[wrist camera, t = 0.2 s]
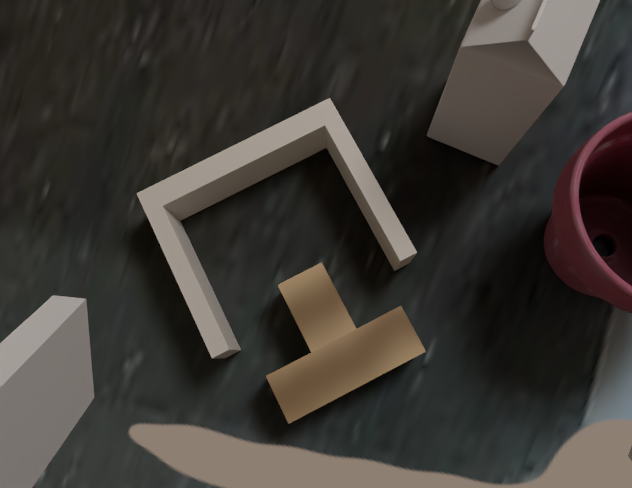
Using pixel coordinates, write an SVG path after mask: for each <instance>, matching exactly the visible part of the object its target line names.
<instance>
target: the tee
mask: <svg viewBox="0 0 632 488" xmlns="http://www.w3.org/2000/svg"><path fill="white" fill-rule="evenodd" d="M278 287H279V289H280V291H281V293H282V295H283V297H284V299H285V301H286V303H287V305H288V307H289V309H290V311H291V313H292V315H293V317H294V319H295V321H296V323H297V325H298V327H299V329H300V331H301V333H302V335H303V337H304V339H305V341H306V343H307V345H308V347H309V349H310V351H311V353H309V354H307V355H306V356H304V357H302V358H300V359H298V360H296V361H294V362H292V363H290V364H288V365H286V366H284V367H283V368H281V369H279V370H277V371H275V372H273V373H271V374H269V375H267V376H266V378H267V380H268V382H269V384H270V386H271V388H272V390H273V392H274V394H275V397H276V399H277V401H278V403H279V405H280V407H281V409H282V411H283V413H284V415H285V417H286V420H287V422H288V424H289V423H291V422H293V421H295V420H297V419H299V418H301V417H303V416H305V415H306V414H308V413H310V412H312V411H314V410H316V409H318V408H320V407H322V406H323V405H325V404H327V403H329V402H331V401H333V400H335V399H337V398H339V397H341V396H342V395H344V394H346V393H348V392H350V391H352V390H354V389H356V388H358V387H360V386H361V385H363V384H365V383H367V382H369V381H371V380H373V379H375V378H377V377H378V376H380V375H382V374H384V373H386V372H388V371H390V370H392V369H394V368H396V367H397V366H399V365H401V364H403V363H405V362H407V361H409V360H411V359H413V358H415V357H416V356H418V355H420V354H422V353H424V352H426V351H425V349H424V347H423V345H422V343H421V342H420V340H419V338H418V336H417V334H416V332H415V331H414V329H413V327H412V325H411V323H410V321H409V319H408V318H407V316H406V314H405V312H404V310H403V308H402V307H401V306H400V307H398V308H396V309H394V310H392V311H390V312H388V313H386V314H384V315H382V316H380V317H379V318H377V319H375V320H373V321H371V322H369V323H367V324H365V325H363V326H361V327H359V328H357V329H356V327H355V325H354V323H353V322H352V320H351V318H350V316H349V314H348V312H347V310H346V308H345V306H344V304H343V302H342V300H341V298H340V297H339V295H338V293H337V291H336V289H335V287H334V285H333V283H332V281H331V279H330V277H329V275H328V273H327V272H326V270H325V268H324V266H323V264H322V263H320V264H318V265H316V266H314V267H312V268H310V269H308V270H306V271H304V272H302V273H300V274H298V275H296V276H294V277H292V278H290V279H288V280H286V281H284V282H282V283H280V284H279V285H278Z"/></svg>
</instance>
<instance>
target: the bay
mask: <svg viewBox="0 0 632 488" xmlns="http://www.w3.org/2000/svg"><path fill="white" fill-rule="evenodd" d="M325 148H327V149H328V151H329V153H330V155H331V157H332V159H333V160H334V162H335V164H336V166H337V168H338V169H339V171H340V173H341V175H342V177H343V179H344V180H345V182H346V184H347V186H348V188H349V189H350V191H351V193H352V195H353V197H354V199H355V200H356V202H357V204H358V206H359V208H360V209H361V211H362V213H363V215H364V217H365V219H366V220H367V222H368V224H369V226H370V228H371V229H372V231H373V233H374V235H375V237H376V239H377V240H378V242H379V244H380V246H381V248H382V249H383V251H384V253H385V255H386V257H387V259H388V260H389V262H390V264H391V266H392V268H393V269H394V271H395V270H397V269H399V268H401V267H403V266H405V265H407V264H409V263H410V262H411V260H412V259H413V258H414V256H415V255H416V253H417V251H416V250H415V248H414V246H413V244H412V243H411V241H410V239H409V237H408V235H407V234H406V232H405V230H404V228H403V227H402V225H401V223H400V221H399V220H398V218H397V216H396V214H395V212H394V211H393V209H392V207H391V205H390V204H389V202H388V200H387V198H386V196H385V195H384V193H383V191H382V189H381V188H380V186H379V184H378V182H377V181H376V179H375V177H374V175H373V173H372V172H371V170H370V168H369V166H368V165H367V163H366V161H365V159H364V158H363V156H362V154H361V152H360V150H359V149H358V147H357V145H356V143H355V142H354V140H353V138H352V136H351V134H350V133H349V131H348V129H347V127H346V126H345V124H344V122H343V120H342V119H341V117H340V115H339V113H338V111H337V110H336V108H335V106H334V104H333V103H332V101H331V99H330V98H329V99H327V100H325V101H323V102H321V103H319V104H317V105H315V106H313V107H311V108H309V109H306V110H304V111H302V112H300V113H298V114H296V115H294V116H292V117H290V118H288V119H286V120H284V121H282V122H280V123H278V124H276V125H274V126H272V127H270V128H268V129H266V130H264V131H262V132H260V133H258V134H256V135H254V136H252V137H250V138H248V139H246V140H244V141H242V142H240V143H238V144H236V145H234V146H232V147H230V148H228V149H226V150H224V151H222V152H220V153H218V154H215V155H213V156H211V157H209V158H207V159H205V160H203V161H201V162H199V163H197V164H195V165H193V166H191V167H189V168H187V169H185V170H183V171H181V172H179V173H177V174H175V175H173V176H171V177H169V178H167V179H165V180H163V181H161V182H159V183H157V184H155V185H153V186H151V187H149V188H147V189H145V190H143V191H141V192H139V193H137V195H138V197H139V200H140V202H141V204H142V206H143V208H144V211H145V213H146V215H147V217H148V219H149V222H150V224H151V226H152V228H153V230H154V233H155V235H156V237H157V239H158V241H159V243H160V246H161V248H162V250H163V252H164V254H165V257H166V259H167V261H168V263H169V265H170V268H171V270H172V272H173V274H174V276H175V279H176V281H177V283H178V285H179V287H180V290H181V292H182V294H183V296H184V298H185V301H186V303H187V305H188V307H189V309H190V311H191V314H192V316H193V318H194V320H195V322H196V325H197V327H198V329H199V331H200V333H201V336H202V338H203V340H204V342H205V344H206V347H207V349H208V351H209V353H210V355H211V358H227V357H229V356H231V355H233V354H235V353H237V352H239V351H241V349H240V347H239V345H238V343H237V341H236V338H235V336H234V334H233V332H232V330H231V328H230V326H229V323H228V321H227V319H226V317H225V315H224V313H223V311H222V309H221V306H220V304H219V302H218V300H217V298H216V296H215V294H214V292H213V289H212V287H211V285H210V283H209V281H208V279H207V277H206V274H205V272H204V270H203V268H202V266H201V264H200V262H199V260H198V257H197V255H196V253H195V251H194V249H193V247H192V245H191V243H190V240H189V238H188V236H187V234H186V232H185V230H184V228H183V226H182V223H181V220H183V219H185V218H187V217H189V216H191V215H193V214H195V213H197V212H199V211H201V210H203V209H205V208H207V207H209V206H211V205H213V204H215V203H217V202H219V201H221V200H223V199H225V198H227V197H229V196H231V195H233V194H235V193H237V192H239V191H241V190H243V189H245V188H247V187H249V186H251V185H253V184H255V183H257V182H259V181H261V180H263V179H265V178H267V177H269V176H271V175H273V174H275V173H277V172H279V171H281V170H283V169H285V168H287V167H289V166H291V165H293V164H295V163H297V162H299V161H301V160H303V159H305V158H307V157H309V156H311V155H313V154H315V153H317V152H319V151H321V150H323V149H325Z"/></svg>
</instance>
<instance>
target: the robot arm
mask: <svg viewBox="0 0 632 488" xmlns="http://www.w3.org/2000/svg"><path fill="white" fill-rule="evenodd" d="M93 399H94V389H93V377H92V364H91V352H90V340H89V327H88V315H87V303H86V299H82V298H73V297H63V296H54V295H53V296H52V297H51V298H50V299H49V300H48V301H47V302H45V303H44V304H43V305H42V306H41V307H40V308H39V309H38V310H37V311H35V312H34V313H33V314H32V315H31V316H30V317H29V318H28V319H27V320H26V321H24V322H23V323H22V324H21V325H20V326H19V327H18V328H17V329H16V330H14V331H13V332H12V333H11V334H10V335H9V336H8V337H7V338H6V339H5V340H3V341H2V342H1V343H0V488H32V487H33V486H34V484H35V483H36V481H37V480H38V478H39V477H40V476H41V474H42V473H43V471H44V470H45V468H46V467H47V465H48V464H49V463H50V461H51V460H52V458H53V457H54V455H55V454H56V452H57V451H58V449H59V448H60V447H61V445H62V444H63V442H64V441H65V439H66V438H67V436H68V435H69V433H70V432H71V431H72V429H73V428H74V426H75V425H76V423H77V422H78V420H79V419H80V418H81V416H82V415H83V413H84V412H85V410H86V409H87V407H88V406H89V404H90V403H91V402H92V400H93ZM628 456H629V457H630V459H631V460H632V447H631V450H630V452H629V455H628Z"/></svg>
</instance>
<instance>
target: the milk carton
mask: <svg viewBox="0 0 632 488" xmlns="http://www.w3.org/2000/svg"><path fill="white" fill-rule="evenodd" d="M599 1H600V0H481V1H480V4H479V6H478V8H477V10H476V12H475V15H474V17H473V19H472V21H471V23H470V25H469V28H468V30H467V32H466V34H465V37H464V39H463V41H462V44H461V46H460V49H459V51H458V54H457V56H456V59H455V62H454V64H453V67H452V69H451V72H450V75H449V77H448V80H447V83H446V85H445V88H444V91H443V93H442V96H441V98H440V101H439V104H438V106H437V109H436V112H435V114H434V117H433V120H432V122H431V125H430V128H429V130H428V133H427V137H430V138H432V139H434V140H437V141H439V142H442V143H444V144H447V145H449V146H452V147H454V148H456V149H459V150H461V151H464V152H466V153H469V154H471V155H473V156H476V157H478V158H481V159H483V160H486V161H488V162H491V163H493V164H495V165H498V166H499V165H500V164H501V163H502V161H503V160H504V159H505V158H506V156H507V155H508V154H509V153H510V152H511V150H512V149H513V148H514V147H515V145H516V144H517V143H518V142H519V140H520V139H521V138H522V137H523V136H524V134H525V133H526V132H527V131H528V129H529V128H530V127H531V126H532V125H533V123H534V122H535V121H536V120H537V118H538V117H539V116H540V115H541V114H542V112H543V111H544V110H545V109H546V107H547V106H548V105H549V104H550V102H551V101H552V100H553V99H554V98H555V96H556V95H557V94H558V93H559V91H560V90H561V89H562V88H563V87H564V85H565V83H566V81H567V79H568V76H569V74H570V72H571V69H572V67H573V64H574V62H575V60H576V57H577V55H578V52H579V50H580V47H581V45H582V43H583V40H584V38H585V35H586V33H587V30H588V28H589V26H590V23H591V21H592V18H593V16H594V14H595V11H596V9H597V6H598V4H599Z"/></svg>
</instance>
